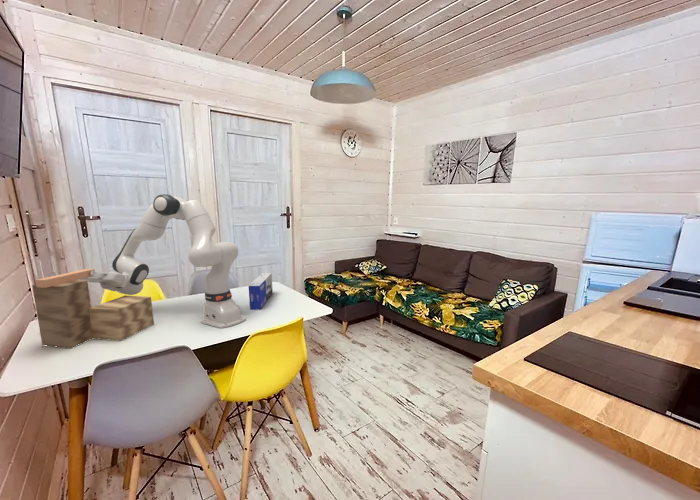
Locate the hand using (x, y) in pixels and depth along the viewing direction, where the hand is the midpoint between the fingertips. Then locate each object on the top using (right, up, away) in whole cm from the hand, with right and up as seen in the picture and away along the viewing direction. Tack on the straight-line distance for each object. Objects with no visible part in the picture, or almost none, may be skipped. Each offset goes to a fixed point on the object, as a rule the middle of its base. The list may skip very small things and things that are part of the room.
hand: (84, 272), depth 134 cm
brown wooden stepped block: (+7, -28, +2) cm, 29 cm away
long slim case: (-1, -3, -7) cm, 7 cm away
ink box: (+65, -21, +48) cm, 84 cm away
